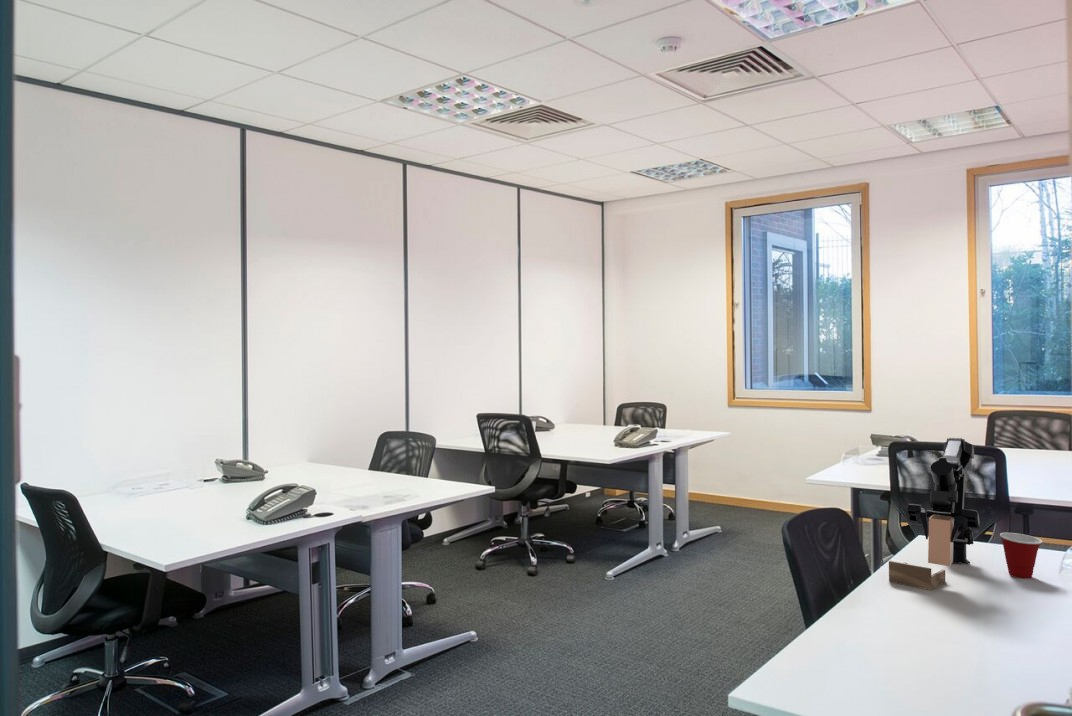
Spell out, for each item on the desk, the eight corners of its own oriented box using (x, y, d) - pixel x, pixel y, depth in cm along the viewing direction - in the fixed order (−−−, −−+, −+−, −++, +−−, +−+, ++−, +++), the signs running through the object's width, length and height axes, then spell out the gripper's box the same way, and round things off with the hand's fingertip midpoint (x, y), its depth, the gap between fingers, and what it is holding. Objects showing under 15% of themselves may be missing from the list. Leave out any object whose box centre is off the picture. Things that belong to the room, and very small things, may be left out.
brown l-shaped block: (904, 573, 229) (904, 554, 229) (945, 581, 221) (945, 561, 221) (889, 581, 222) (888, 561, 222) (930, 590, 213) (930, 569, 213)
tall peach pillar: (931, 558, 221) (932, 513, 221) (952, 561, 218) (953, 516, 217) (928, 562, 217) (929, 517, 216) (949, 566, 213) (950, 520, 213)
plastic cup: (1041, 583, 218) (1041, 542, 218) (998, 577, 224) (997, 537, 224) (1044, 574, 226) (1043, 535, 226) (1002, 569, 233) (1001, 530, 233)
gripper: (906, 476, 226) (899, 520, 217) (977, 482, 215) (973, 528, 206) (911, 498, 232) (905, 541, 223) (981, 505, 221) (977, 550, 212)
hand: (939, 540), depth 216 cm, fingers closed on tall peach pillar, 6 cm apart
